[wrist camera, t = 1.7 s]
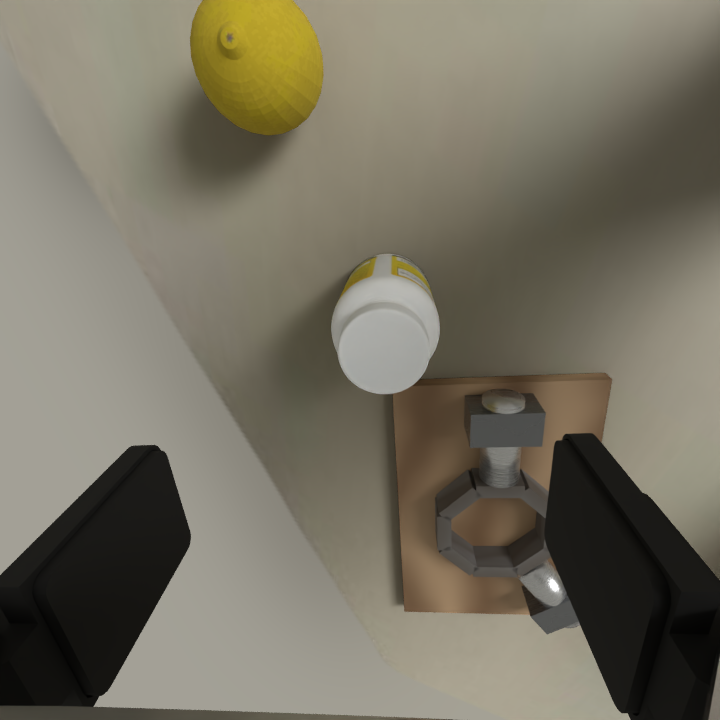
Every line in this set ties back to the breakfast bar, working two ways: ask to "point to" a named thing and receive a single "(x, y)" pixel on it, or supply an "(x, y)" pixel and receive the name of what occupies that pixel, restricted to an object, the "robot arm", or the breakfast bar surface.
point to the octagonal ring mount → (478, 491)
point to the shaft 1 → (502, 432)
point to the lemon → (257, 62)
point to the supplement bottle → (385, 324)
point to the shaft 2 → (548, 598)
